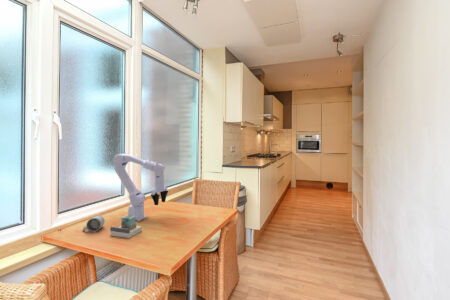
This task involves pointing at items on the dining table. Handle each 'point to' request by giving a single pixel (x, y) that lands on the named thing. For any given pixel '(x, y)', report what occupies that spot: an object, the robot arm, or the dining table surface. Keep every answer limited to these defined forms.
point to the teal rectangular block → (128, 222)
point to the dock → (124, 231)
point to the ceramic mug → (94, 223)
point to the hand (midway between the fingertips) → (160, 203)
